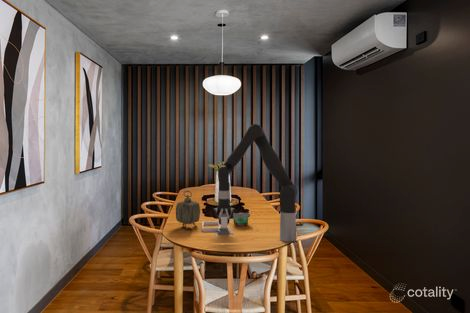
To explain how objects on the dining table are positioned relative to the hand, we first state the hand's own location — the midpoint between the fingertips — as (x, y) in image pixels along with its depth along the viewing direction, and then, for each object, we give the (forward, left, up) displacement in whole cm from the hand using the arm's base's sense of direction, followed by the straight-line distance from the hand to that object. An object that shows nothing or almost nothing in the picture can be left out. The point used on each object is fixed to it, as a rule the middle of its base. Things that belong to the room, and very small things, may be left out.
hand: (224, 224), depth 213 cm
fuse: (0, 0, -3) cm, 3 cm away
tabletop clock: (+24, -16, -7) cm, 30 cm away
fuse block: (0, 0, -6) cm, 6 cm away
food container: (-13, -17, -7) cm, 22 cm away
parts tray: (+8, -12, -6) cm, 16 cm away
